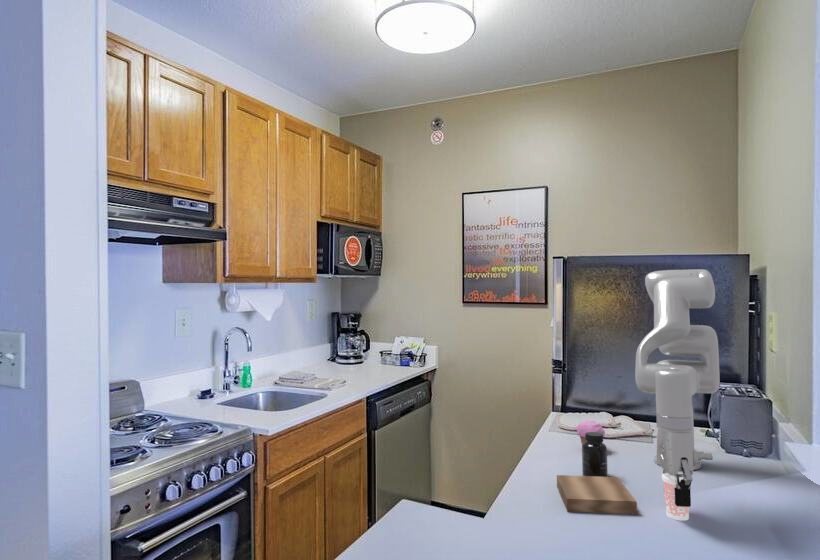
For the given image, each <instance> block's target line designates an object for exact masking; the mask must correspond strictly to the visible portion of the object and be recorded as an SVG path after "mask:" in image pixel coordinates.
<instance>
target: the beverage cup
mask: <svg viewBox="0 0 820 560" xmlns="http://www.w3.org/2000/svg"><path fill="white" fill-rule="evenodd" d="M681 479H683V477H679V481H681ZM661 480H662V482H663V493H664V502H665V512H666V516H667V517H668V518H670V519H672V520H675V521H683V522H684V521H688V520H689V519H690V507H681V506H676V505H675V490H674V488H676V483H675V477H674V476H671V475H670V474H669V473H664V474H663V473H662V474H661Z"/></svg>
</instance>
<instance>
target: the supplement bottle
mask: <svg viewBox="0 0 820 560" xmlns="http://www.w3.org/2000/svg"><path fill="white" fill-rule="evenodd" d="M585 440H586V442H584V443H583V444H582V443H581V459H582V460H581V465H582V466H581V469H582V472H581V473H582V476H598V477H609V476H608V475H609V473H608V447H607V445H606V444H605V443H603V442H604V437H603V434H601V433H597V432H587V433H585Z"/></svg>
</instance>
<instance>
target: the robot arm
mask: <svg viewBox="0 0 820 560" xmlns="http://www.w3.org/2000/svg"><path fill="white" fill-rule="evenodd" d="M644 285H645V288H646V292H647V294H648V296H649V298H650V300H651V301H652V304H653V329H652V330H650V332H648V333H647V334H646V335H645V336H644V337H643V339H642V340H641V341H640V343H639V345H638V346H637V349H636V353H635V370H634V371H635V372H634V373H635V374H634V375H635V384H636V387H637V389H638V390H639V391H641V392H642V393H645V394H653V395H654V394H655V412H656V413H655V415H656V417H655V418H656V428H657V435H656V436H657V437H656V439H657V440H656V455H655V456H653V457H654V458H653V459H654V460H653V461H654V462H655V464H657V465H658V466H660V467H661V468H662V474H664V473H669V474H670V475H671V476H674V477H675V483H676V488H674V490H675V505H676V506H681V507H689V508H690V507H691V506H692V501H691V499H692V498H691V489H692V486H691V485H692V483H693V480H694V479H693V474H694V471H696V470H699V469H701V467H702V462H701V461H702V460H704V461H705V460H707V461H713V454H712V453H710V452H709V453H708V452H704V451H700V450H699V451H698V450H697V449H695V430H694V429H695V427H694V424H695V423H694V407H693V398H692V397H693V396H694V395H695V394H696V393H697V394H714V393H716V392H718V391H719V388H720V384H721V383H720V380H721V378H720V375H721V374H720V356H719V354H720V353H719V340H718V335H717V332H716V330H715V329H714V328H713V327H711V326H709V325H702V324H691V322H690V320H691V319H690V309H709V308H711V307H712V306H713V305H714V304H715V300H716V287H715V283H714V279H713V276H712V273H711V272H710V271H709V270H708V269H704V268H702V269H701V268H698V269H697V268H695V269H666V270H665V269H664V270H655V271H652V272H651V271H650V272H649V273H648V274H646V275H645V279H644ZM656 349H658V350H659V351H660V353H661V354H662V355H664V356H672V357H689V358H691V357H692V358H693V357H694V358H695V357H697V358H699V359H700V360H686V359H662V360H660V361H658V362H657V363H648V358H649V356H650V354H651V353H652V352H653V351H656ZM679 477H683V479H681V481H679Z"/></svg>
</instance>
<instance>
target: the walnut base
mask: <svg viewBox="0 0 820 560" xmlns="http://www.w3.org/2000/svg"><path fill="white" fill-rule="evenodd" d="M556 488H557V489H558V492H559V495H560V497H561V500H562V502H563V504H564V507H565V510H566V512H575V513H576V512H577V513H596V514H597V513H598V514H599V513H600V514H617V515H618V514H621V515H638V503H637V501H638V500H636V499H635V497H634V496H633V494H632V493H631V492H630V491H629V490H628V488H627V487H626V485H625V484H624V482H623V481H622V480H621V479H620V478H619V477H618V476H607V477H598V476H584V475H568V474H567V475H565V474H563V475H562V474H556Z"/></svg>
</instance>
